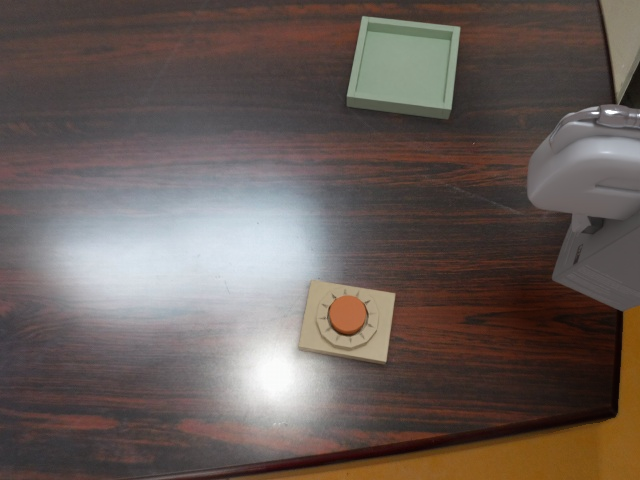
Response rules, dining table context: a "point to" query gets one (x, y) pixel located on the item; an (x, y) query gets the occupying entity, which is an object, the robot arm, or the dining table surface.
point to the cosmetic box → (603, 263)
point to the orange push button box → (358, 345)
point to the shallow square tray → (404, 67)
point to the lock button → (347, 314)
